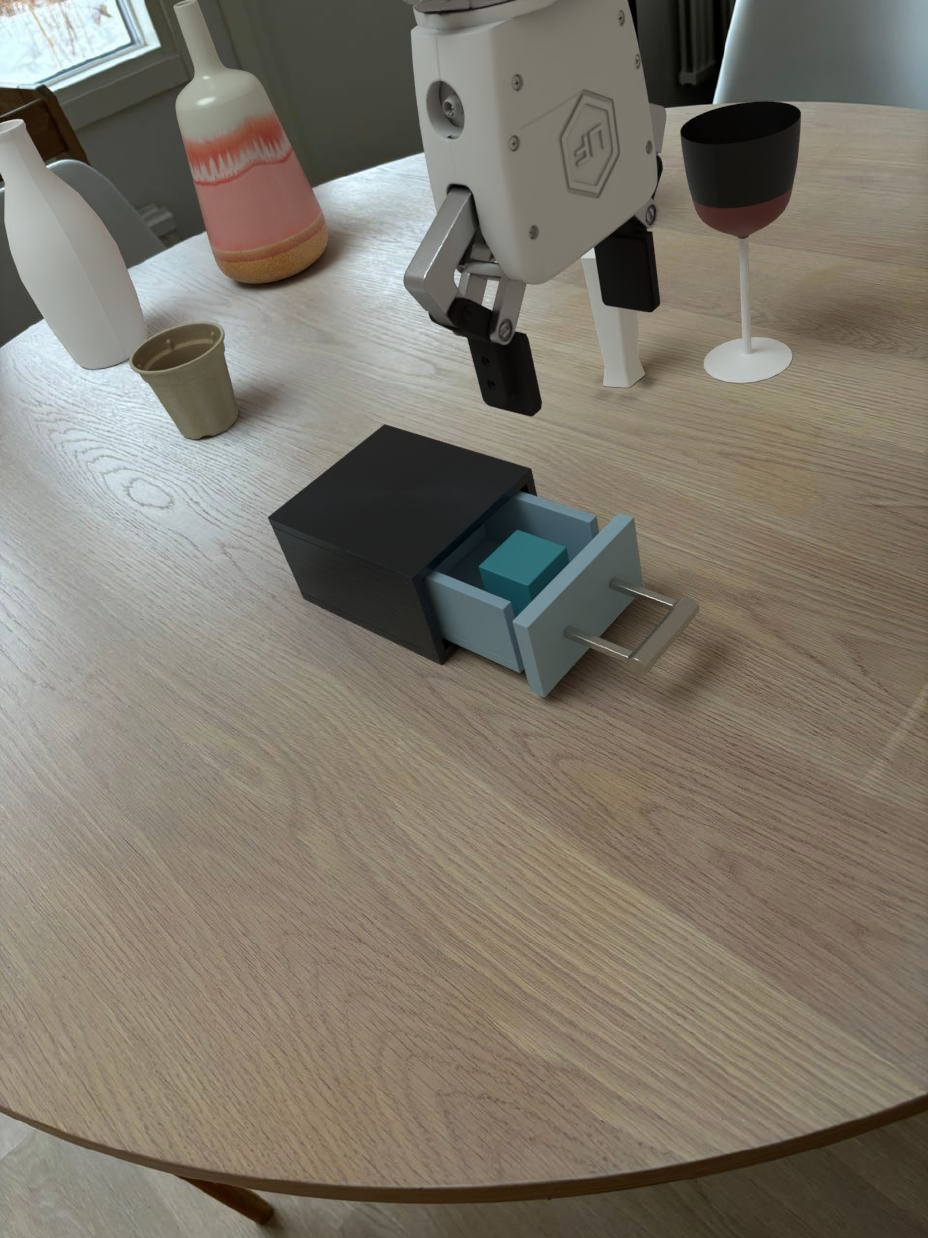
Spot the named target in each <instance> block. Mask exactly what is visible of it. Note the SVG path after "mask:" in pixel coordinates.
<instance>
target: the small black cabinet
mask: <svg viewBox="0 0 928 1238" xmlns="http://www.w3.org/2000/svg"><path fill="white" fill-rule="evenodd" d="M518 491H522V492H525V493H528V494H531V495H534V496H537V497H538V493H537V487H536V483H535V478H534V475H533V469H532V468H531V467H527V466H525V465H521V464H518V463H515V462H512V461H507V460H504V459H501V458H499V457H495V456H492V455H488V454H485V453H481V452H479V451H476V450H473V449H469V448H465V447H462V446H458V445H455V444H452V443H449V442H446V441H442V440H439V439H435V438H432V437H430V436H429V437H428V436H426V435H423V434H418V433H416V432H412V431H409V430H406V429H402V428H399V427H396V426H393V425H389V424H386V423H383V425H382V426H380V427H379V428H377V429H376V430H375V431H374V432H372V433H371V434H370V435H369V436H368V437H366V438H365V439H364V440H363V441H361V442H360V443H359V444H357V445H356V446H355V447H354V448H353V449H351V450H350V451H348V452H347V453H346V454H344V456H342V457H341V458H340V459H339V460H337V461H336V462H335V463H334V464H332V465H331V466H330V467H329V468H328V469H326V470H325V471H324V472H322V473H321V474H319V476H317V477H316V478H314V479H313V480H312V481H311V482H310V483H309V484H307V485H306V486H305V487H303V488H302V489H301V490H300V491H299V492H297V493H296V494H295V495H293V496H292V497H291V498H289V499H288V500H287V501H286V502H285V503H283V504H282V505H281V506H280V507H279V508H277V509H276V510H275V511H273V512H272V513H271V514H270V515H268V516H267V520H268V522H269V524H270V526H271V528H272V530H273V533H274V535H275V538H276V540H277V542H278V544H279V546H280V549H281V551H282V553H283V555H284V557H285V560H286V562H287V564H288V567H289V569H290V572H291V574H292V575H293V578H294V580H295V582H296V585H297V587H298V589H299V591H300V594H301V596H302V599H303V600H305V601H307V602H309V603H311V604H313V605H316V606H318V607H319V608H322V609H324V610H326V611H328V612H330V613H332V614H334V615H336V616H338V617H341V618H343V619H344V620H347V621H348V622H351V623H353V624H355V625H357V626H359V627H361V628H363V629H364V630H368V631H370V632H372V633H374V634H376V635H378V636H380V637H382V638H384V639H386V640H388V641H391V642H393V643H395V644H396V645H398V646H401V647H403V648H405V649H407V650H409V651H411V652H414V653H415V654H418V655H419V656H422V657H424V658H426V659H428V660H430V661H432V662H433V663H436V664H438V665H440V666H443V664H444V663H445V662H446V661H447V660H448V659H449V658H450V657H451V656H452V655H453V654H454V653H455V652H456V651H458V649H459V648H460V647H461V646H459V645H457V644H455V643H453V642H451V641H449V640H446V639H444V638H442V637H441V634H440V631H439V628H438V625H437V622H436V619H435V616H434V613H433V610H432V607H431V604H430V601H429V598H428V594H427V591H426V588H425V585H424V582H423V579H424V578H425V577H427V576H428V575H429V574H430V573H431V572H432V571H433V570H434V569H435V568H436V567H437V566H438V565H439V564H441V563H442V562H443V561H444V560H445V559H446V558H447V557H448V556H449V555H450V554H451V553H452V552H453V551H455V550H456V549H457V548H458V547H459V546H460V545H461V544H462V543H463V542H464V541H465V540H466V539H468V538H469V537H470V536H471V535H472V534H473V533H474V532H475V531H476V530H477V529H478V528H479V527H480V526H482V525H483V524H484V523H485V522H486V521H487V520H488V519H489V518H490V517H491V516H492V515H493V514H494V513H496V512H497V511H498V510H499V509H500V508H501V507H502V506H503V505H504V504H505V503H506V502H507V501H508V500H510V499H511V498H512V497H513V496H514V495H515V494H516V493H517V492H518Z"/></svg>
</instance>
